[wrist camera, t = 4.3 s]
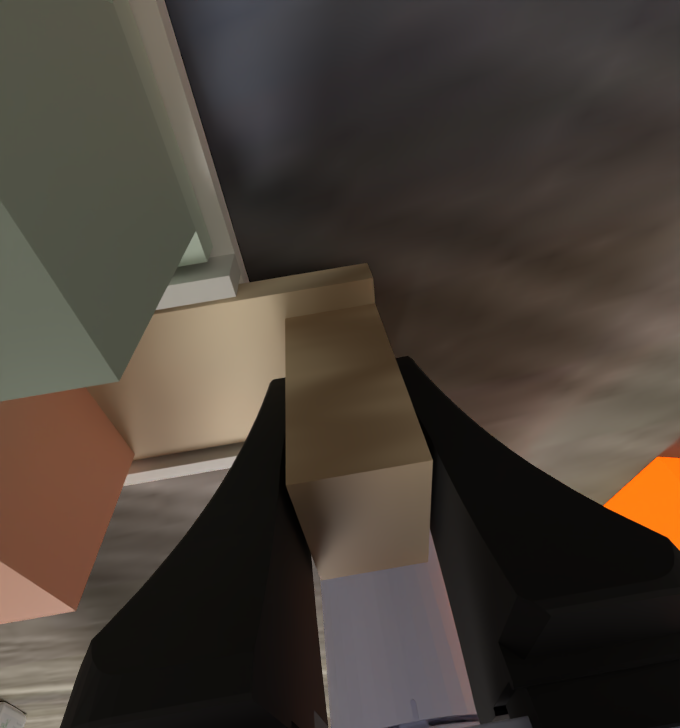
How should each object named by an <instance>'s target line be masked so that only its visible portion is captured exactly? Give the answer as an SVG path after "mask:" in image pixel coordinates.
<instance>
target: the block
mask: <svg viewBox="0 0 680 728" xmlns="http://www.w3.org/2000/svg"><path fill="white" fill-rule="evenodd" d="M134 456H135V454H134V452H133V451H132V450H131V448H130V447H129V446H128V444H127V443H126V442H125V440H124V439H123V438H122V436H121V435H120V433H119V432H118V431H117V429H116V428H115V427H114V425H113V424H112V423H111V421H110V420H109V419H108V417H107V416H106V415H105V413H104V412H103V411H102V409H101V408H100V406H99V405H98V404H97V402H96V401H95V400H94V398H93V397H92V396H91V394H90V393H89V392H88V390H87V389H86V388H85V387H83V388H77V389H71V390H65V391H60V392H54V393H48V394H42V395H36V396H30V397H24V398H18V399H12V400H6V401H0V624H4V623H10V622H16V621H21V620H27V619H33V618H39V617H44V616H50V615H56V614H62V613H67V612H73V611H76V610H77V607H78V605H79V602H80V599H81V597H82V594H83V591H84V589H85V586H86V583H87V581H88V578H89V575H90V573H91V570H92V567H93V565H94V562H95V559H96V557H97V554H98V551H99V549H100V546H101V543H102V541H103V538H104V535H105V533H106V530H107V527H108V525H109V522H110V519H111V517H112V514H113V511H114V509H115V506H116V503H117V501H118V498H119V495H120V493H121V490H122V487H123V485H124V482H125V480H126V477H127V474H128V472H129V469H130V466H131V464H132V461H133V458H134Z"/></svg>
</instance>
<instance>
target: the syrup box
mask: <svg viewBox="0 0 680 728" xmlns="http://www.w3.org/2000/svg"><path fill="white" fill-rule="evenodd" d="M26 719H27V716H26V715H25V714H24V713H23V712H21V711H20V710H18V709H17V708H15V707H13V706H11V705H10V704H8V703H6V702H0V728H23V727H24V724H25V722H26Z"/></svg>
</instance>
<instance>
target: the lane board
mask: <svg viewBox="0 0 680 728" xmlns="http://www.w3.org/2000/svg"><path fill="white" fill-rule="evenodd" d="M128 1H129V4H130V7H131V10H132V13H133V16H134V19H135V22H136V25H137V28H138V30H139V33H140V36H141V39H142V42H143V45H144V48H145V51H146V54H147V57H148V59H149V62H150V65H151V68H152V71H153V74H154V77H155V80H156V83H157V86H158V88H159V91H160V94H161V97H162V100H163V103H164V106H165V109H166V112H167V115H168V117H169V120H170V123H171V126H172V129H173V132H174V135H175V138H176V141H177V144H178V146H179V149H180V152H181V155H182V158H183V161H184V164H185V167H186V170H187V173H188V175H189V178H190V181H191V184H192V187H193V190H194V193H195V196H196V199H197V201H198V204H199V207H200V210H201V213H202V216H203V219H204V222H205V225H206V228H207V230H208V233H209V236H210V239H211V242H212V245H213V248H212V251H211V254H210V256H209V259H208V262H204V263H198V264H192V265H186V266H180V267H177V269H176V271H175V273H174V275H173V277H172V279H171V281H170V283H169V285H168V287H167V289H166V290H165V292H164V294H163V296H162V298H161V300H160V302H159V304H158V306H157V308H156V310H159V309H165V308H171V307H177V306H183V305H189V304H195V303H201V302H207V301H213V300H219V299H225V298H231V297H236V295H237V290H238V285H239V284H243V283H249V279H248V276H247V273H246V269H245V266H244V263H243V259H242V256H241V253H240V249H239V246H238V243H237V240H236V236H235V233H234V230H233V226H232V223H231V220H230V216H229V213H228V210H227V206H226V203H225V200H224V196H223V193H222V190H221V186H220V183H219V180H218V176H217V173H216V170H215V167H214V163H213V160H212V157H211V153H210V150H209V147H208V143H207V140H206V137H205V133H204V130H203V127H202V123H201V120H200V117H199V113H198V110H197V107H196V103H195V100H194V97H193V94H192V90H191V87H190V84H189V80H188V77H187V74H186V70H185V67H184V64H183V60H182V57H181V54H180V50H179V47H178V44H177V40H176V37H175V34H174V30H173V27H172V24H171V21H170V17H169V14H168V11H167V7H166V4H165V1H164V0H128ZM244 442H245V441H244ZM244 442H238V443H233V444H227V445H221V446H215V447H209V448H203V449H197V450H192V451H186V452H180V453H174V454H168V455H162V456H156V457H150V458H145V459H139V460H133V461H132V464H131V466H130V469H129V472H128V474H127V477H126V480H125V482H124V485H123V486H127V485H133V484H139V483H145V482H150V481H156V480H162V479H168V478H174V477H180V476H185V475H191V474H197V473H203V472H209V471H215V470H221V469H226V468H231V466H232V464H233V463H234V461H235V459H236V457H237V455H238V453H239V452H240V450H241V448H242V446H243V444H244Z"/></svg>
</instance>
